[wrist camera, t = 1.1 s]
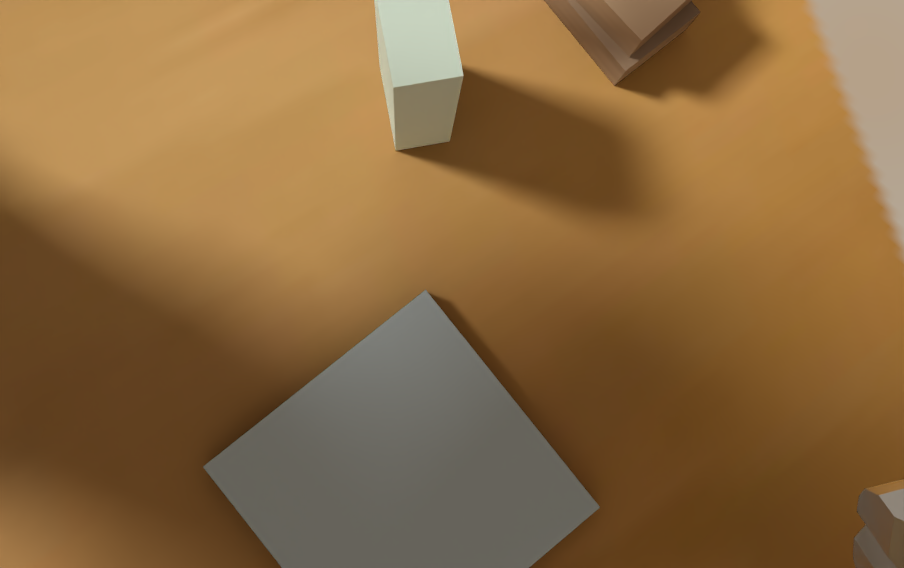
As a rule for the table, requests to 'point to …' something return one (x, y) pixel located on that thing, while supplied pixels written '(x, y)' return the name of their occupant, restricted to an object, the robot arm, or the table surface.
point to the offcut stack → (624, 29)
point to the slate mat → (402, 461)
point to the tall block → (419, 69)
